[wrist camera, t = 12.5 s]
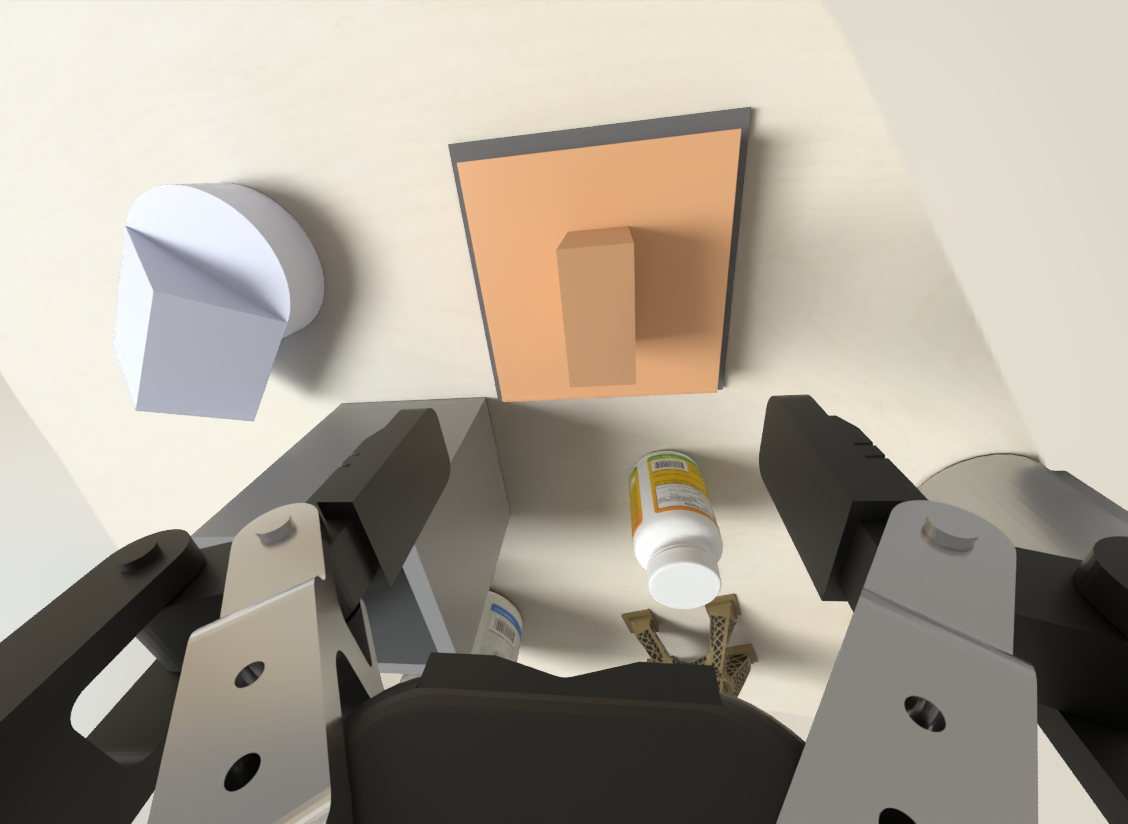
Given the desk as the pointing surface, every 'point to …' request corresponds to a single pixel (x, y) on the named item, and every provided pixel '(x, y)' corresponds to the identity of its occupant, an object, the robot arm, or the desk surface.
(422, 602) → the storage box
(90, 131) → the desk surface
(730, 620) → the eiffel tower
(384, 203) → the desk surface
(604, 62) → the desk surface
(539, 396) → the lid
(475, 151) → the rubber mat
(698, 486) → the supplement bottle
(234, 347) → the wedge on round base
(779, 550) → the desk surface
